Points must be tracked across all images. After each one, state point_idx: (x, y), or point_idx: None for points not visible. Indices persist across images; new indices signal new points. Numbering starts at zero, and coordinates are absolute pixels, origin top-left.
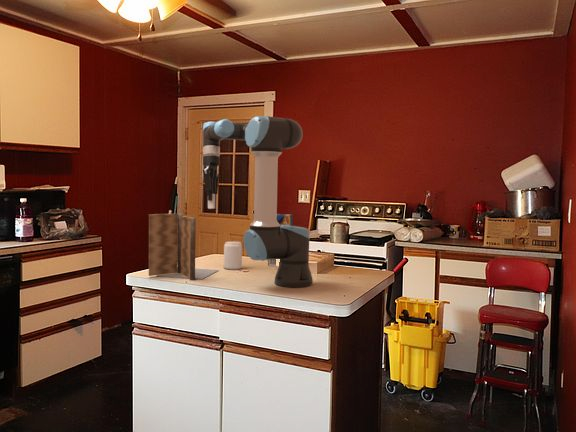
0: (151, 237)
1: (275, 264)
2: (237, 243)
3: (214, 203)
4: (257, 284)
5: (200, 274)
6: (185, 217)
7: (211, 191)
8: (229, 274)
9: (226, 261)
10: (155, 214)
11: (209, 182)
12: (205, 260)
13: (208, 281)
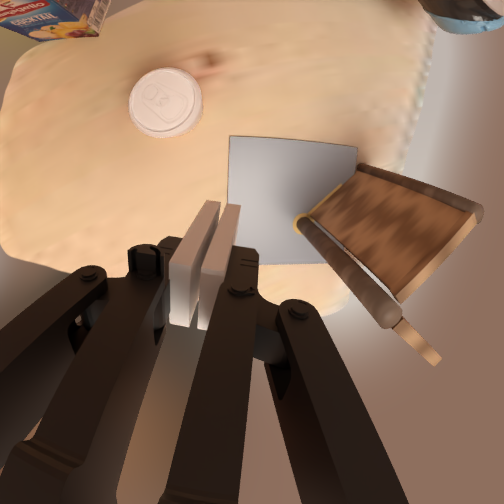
0: (402, 316)
1: (104, 13)
2: (185, 74)
3: (212, 216)
4: (369, 20)
5: (309, 166)
6: (440, 262)
7: (257, 300)
8: (273, 92)
9: (198, 120)
10: (434, 354)
11: (359, 400)
12: (78, 240)
13: (371, 128)
